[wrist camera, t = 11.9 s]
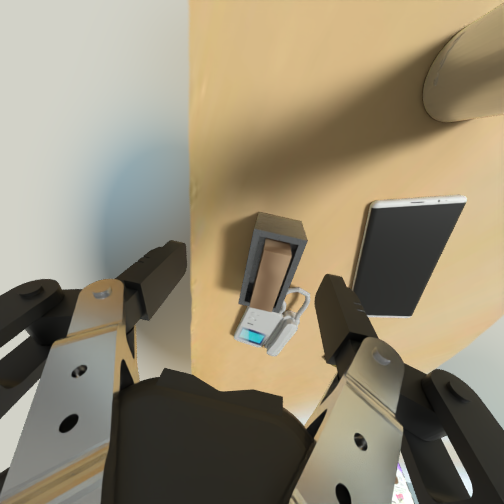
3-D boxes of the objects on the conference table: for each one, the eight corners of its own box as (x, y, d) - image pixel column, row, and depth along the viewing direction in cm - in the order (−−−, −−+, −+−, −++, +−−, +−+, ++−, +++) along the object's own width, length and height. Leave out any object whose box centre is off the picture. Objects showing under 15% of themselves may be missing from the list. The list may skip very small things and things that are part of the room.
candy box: (356, 438, 79) (374, 501, 65) (366, 435, 76) (387, 500, 62) (382, 447, 81) (404, 511, 67) (392, 445, 78) (418, 510, 64)
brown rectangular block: (289, 240, 30) (291, 256, 25) (272, 292, 36) (271, 312, 32) (266, 235, 30) (264, 250, 26) (252, 288, 36) (249, 307, 32)
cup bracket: (301, 221, 33) (307, 240, 26) (278, 285, 41) (278, 313, 34) (259, 211, 33) (254, 228, 26) (244, 277, 41) (238, 303, 34)
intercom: (324, 301, 37) (276, 360, 49) (320, 286, 40) (276, 345, 53) (263, 279, 36) (231, 345, 49) (265, 267, 39) (234, 331, 52)
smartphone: (345, 311, 43) (347, 317, 42) (369, 199, 30) (373, 202, 29) (406, 313, 41) (411, 319, 40) (461, 193, 28) (471, 195, 27)
